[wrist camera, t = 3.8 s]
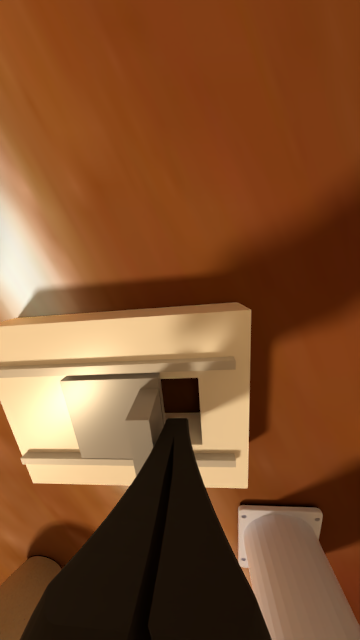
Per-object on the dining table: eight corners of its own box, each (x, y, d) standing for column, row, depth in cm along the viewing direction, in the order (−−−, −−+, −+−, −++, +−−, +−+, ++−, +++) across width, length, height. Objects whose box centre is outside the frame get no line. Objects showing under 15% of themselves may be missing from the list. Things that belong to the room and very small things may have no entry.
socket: (237, 449, 16) (249, 496, 12) (59, 448, 17) (27, 490, 14) (237, 302, 12) (254, 311, 9) (17, 317, 14) (-39, 330, 11)
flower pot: (1, 567, 24) (-75, 684, 17) (23, 532, 22) (-57, 653, 15) (64, 596, 25) (14, 719, 18) (91, 565, 22) (46, 695, 15)
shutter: (169, 450, 12) (162, 503, 10) (86, 450, 13) (56, 499, 10) (159, 372, 11) (147, 407, 8) (66, 376, 11) (23, 409, 9)
